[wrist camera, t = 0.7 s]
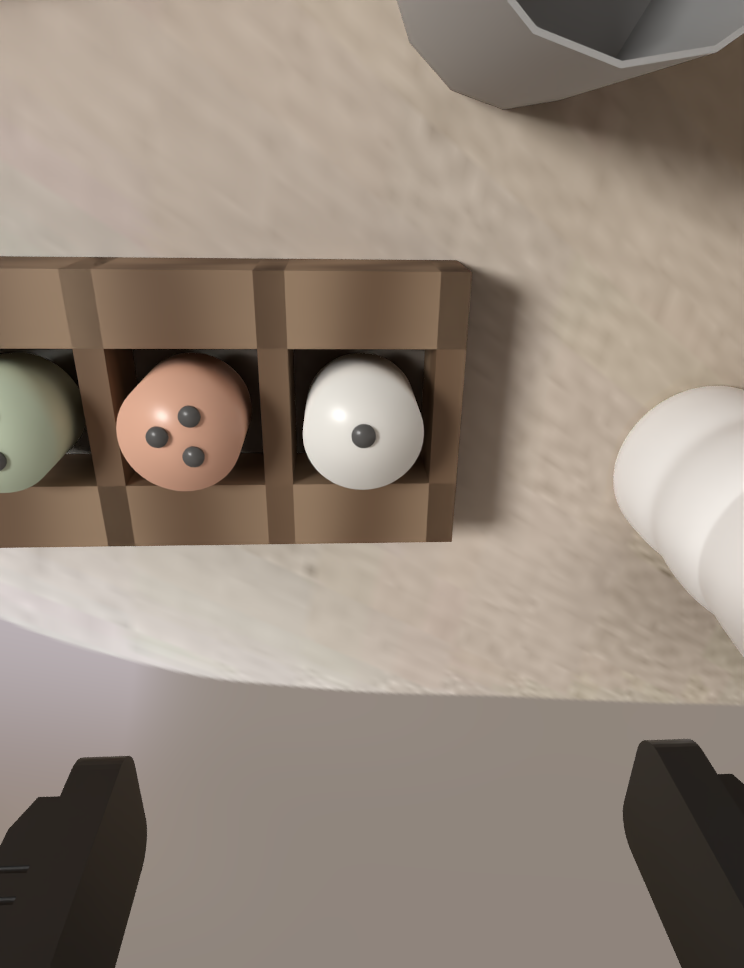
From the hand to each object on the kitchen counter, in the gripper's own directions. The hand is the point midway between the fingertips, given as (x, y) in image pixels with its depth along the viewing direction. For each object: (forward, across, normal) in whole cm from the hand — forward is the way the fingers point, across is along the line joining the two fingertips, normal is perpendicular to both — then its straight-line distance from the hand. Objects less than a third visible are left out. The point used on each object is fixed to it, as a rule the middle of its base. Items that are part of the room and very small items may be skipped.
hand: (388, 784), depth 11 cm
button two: (+16, +12, -1) cm, 20 cm away
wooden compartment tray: (+17, +6, -1) cm, 18 cm away
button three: (+16, +6, -1) cm, 17 cm away
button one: (+16, 0, -1) cm, 16 cm away
